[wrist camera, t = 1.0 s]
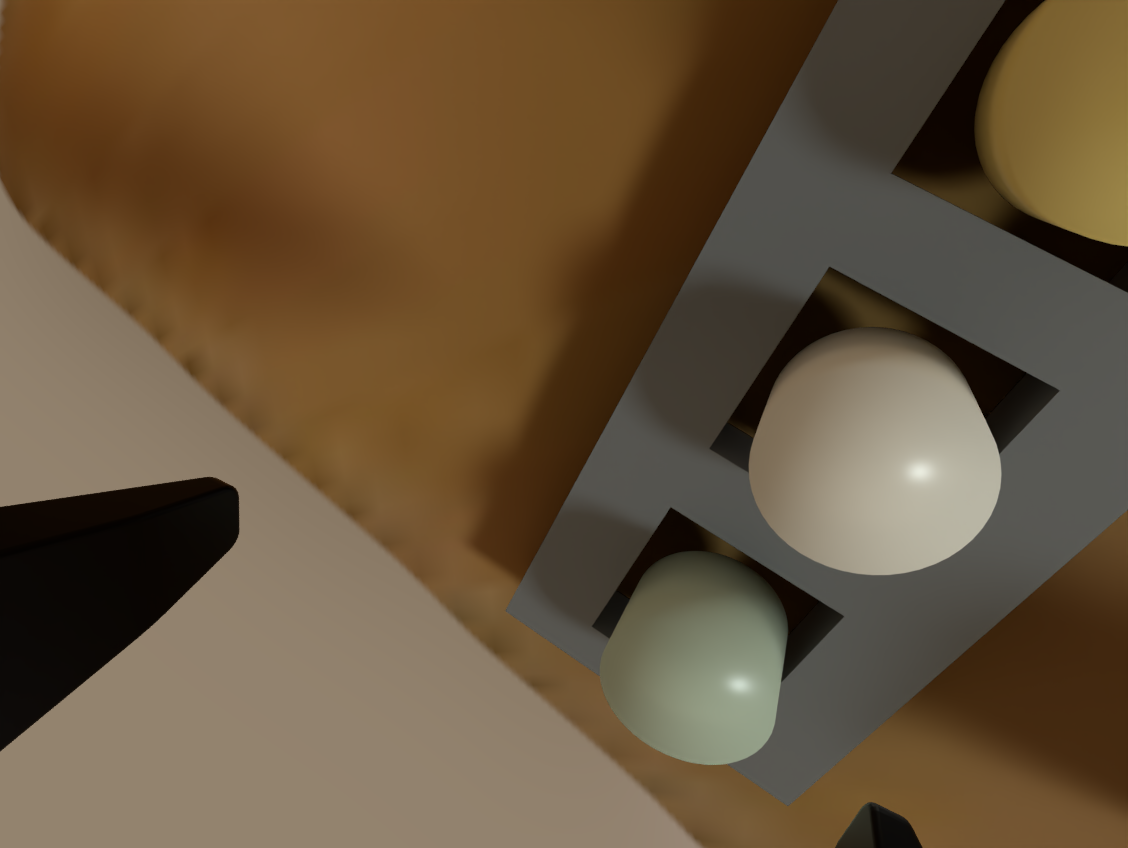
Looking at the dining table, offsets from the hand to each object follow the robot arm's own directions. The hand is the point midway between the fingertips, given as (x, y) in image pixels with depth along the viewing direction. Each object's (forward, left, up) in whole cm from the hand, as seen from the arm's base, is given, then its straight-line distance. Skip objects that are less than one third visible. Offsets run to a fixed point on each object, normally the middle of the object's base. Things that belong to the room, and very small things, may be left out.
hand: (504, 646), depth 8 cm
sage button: (-4, +5, -9) cm, 11 cm away
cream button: (-4, -2, -9) cm, 10 cm away
